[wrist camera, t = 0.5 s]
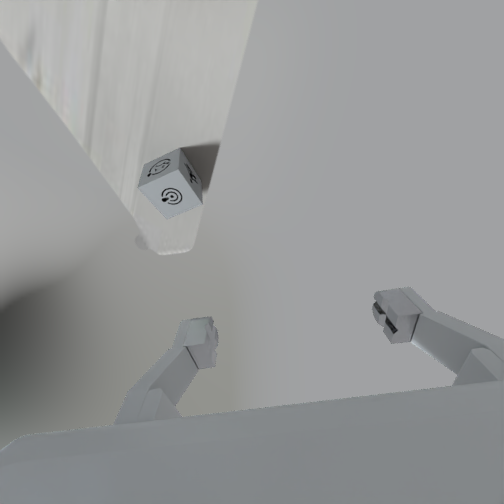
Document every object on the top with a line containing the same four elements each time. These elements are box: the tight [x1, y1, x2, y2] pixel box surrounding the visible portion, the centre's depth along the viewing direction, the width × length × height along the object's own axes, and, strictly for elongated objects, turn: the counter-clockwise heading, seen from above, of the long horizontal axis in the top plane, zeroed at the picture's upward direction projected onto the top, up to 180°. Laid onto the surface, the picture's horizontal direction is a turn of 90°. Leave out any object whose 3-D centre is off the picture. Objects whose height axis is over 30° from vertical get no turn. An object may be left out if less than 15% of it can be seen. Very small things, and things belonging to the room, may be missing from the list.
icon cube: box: [138, 148, 203, 219], centre depth 53 cm, size 10×10×10 cm
